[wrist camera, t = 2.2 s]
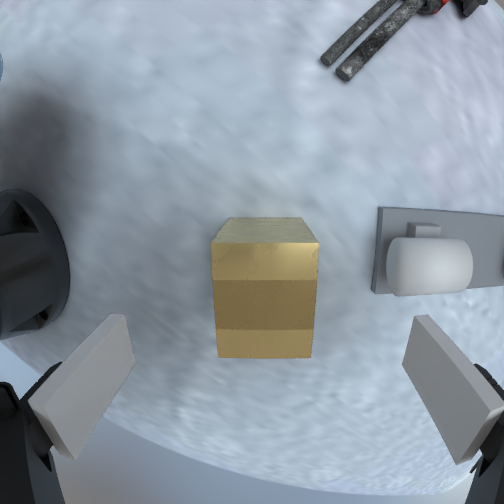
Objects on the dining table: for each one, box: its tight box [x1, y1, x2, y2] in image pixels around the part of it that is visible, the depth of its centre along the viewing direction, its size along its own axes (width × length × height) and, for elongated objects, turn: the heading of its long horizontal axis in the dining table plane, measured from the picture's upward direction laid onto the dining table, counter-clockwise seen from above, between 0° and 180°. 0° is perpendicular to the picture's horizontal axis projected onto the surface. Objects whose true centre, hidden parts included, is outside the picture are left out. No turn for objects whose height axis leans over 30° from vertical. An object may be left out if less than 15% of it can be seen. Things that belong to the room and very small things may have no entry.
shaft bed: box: [371, 207, 504, 296], centre depth 19 cm, size 20×7×6 cm, turn 91°
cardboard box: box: [211, 218, 319, 359], centre depth 20 cm, size 7×6×8 cm
